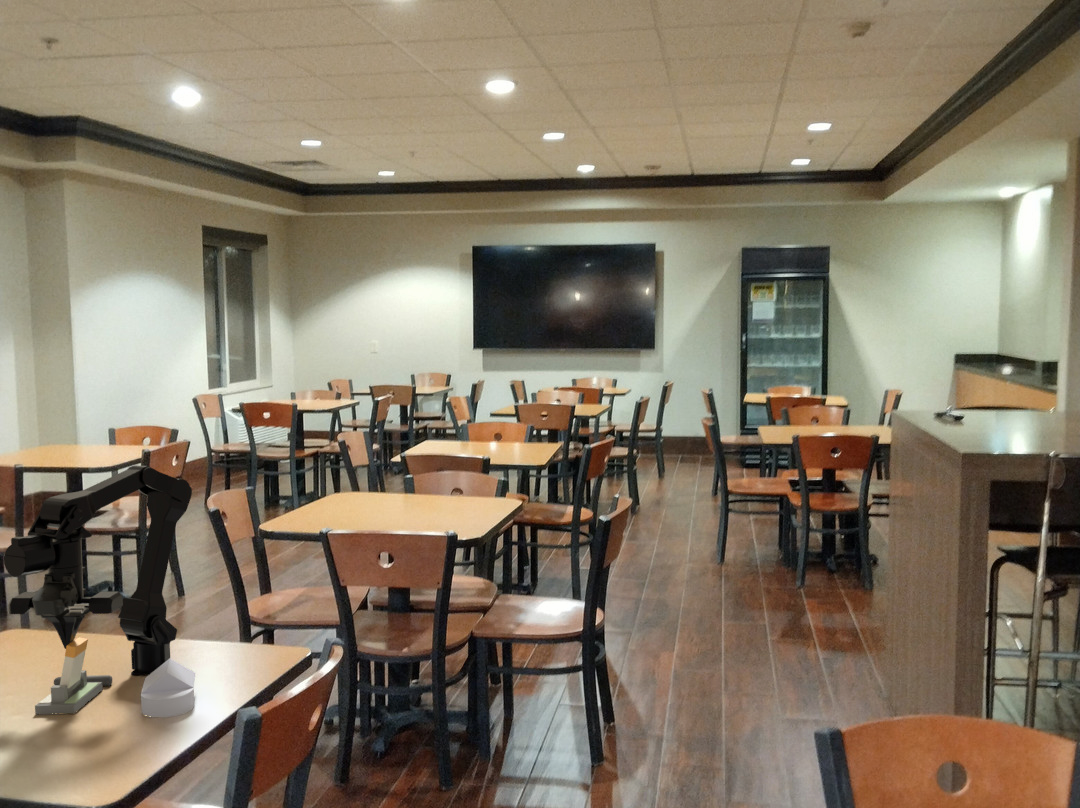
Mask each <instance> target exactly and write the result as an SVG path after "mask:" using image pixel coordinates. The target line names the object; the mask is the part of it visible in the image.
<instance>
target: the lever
mask: <svg viewBox="0 0 1080 808" xmlns="http://www.w3.org/2000/svg"><path fill="white" fill-rule="evenodd" d="M88 642H89V639H88V638H85V637H79V636H78V637H77V638H75V639H74V641H73V642H71V643H70V644H68V645H67V646H66V649H65V653H64V659H63V660H64V661H63V665H62V666H63V667H62V671H61V676H60V677H61V681H60V685H67V693H68V694H69V693H70V692H71V691H73V690H74V689H75V688H76V687H78V686H79V685H80V684H81V672H82V670H83V665H84V660H85V655H86V650H87V646H88Z"/></svg>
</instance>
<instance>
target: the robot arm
mask: <svg viewBox="0 0 1080 808" xmlns="http://www.w3.org/2000/svg"><path fill="white" fill-rule="evenodd" d="M190 485H191V484H190V483H189V482H188V481H187V480H186V479H184V478H176V477H174V476H171V475H168V474H167V473H163V472H160V471H158V470H157V469H155V468H153V467H152V466H148V465H138V464H137V465H131V466H129V467H128V468H127V469H125V470H124V471H121V472H119V473H117V474H115V475H113V476H111V477H109V478H107V479H104V480H102V481H100V482H97V483H96V484H94V485H92V486H90V487H88V488H85V489H83V490H79V491H75V492H68V493H67V492H66V493H62V494H58V495H54V496H50V497H48V498H46V499H45V500H44V501H43V502H42V504H41V505H42V506H41V508H40V511H39V513H38V514H37V516H36V517H35V520H34V522H33V523H32V525H31V527H30V528H29V530H28V532H27V535H26V536H14V537H12V538H11V539H10V545H9V546H8V547H7V548H6V550H5V553H4V555H3V564H4V567H5V570H6V571H7V573H8V574H9V575H10V576H11V577H15V578H18V577H22V576H26V575H30V574H34V573H39V572H44V571H46V570H47V573H45V574H44V579H43V581H44V582H43V585H42V586H41V587H40V588H39V589H38V591H24V592H22V593H20V594H18V595H15V596H14V597H12V598H11V599H10V600H9V601H8V614H10V615H26V614H27V613H28V612H29V611H30V610H31V609H34V614H35V615H36V616H40V617H41V619H46V620H47V621H49V622H50V623H51V624H52V625H53V626H54V629H55V630H56V632H57V635H58V637H59V638H60V641H61V643H62V645H63V648H64V649H65V650H66V646H67V645H68V644H70V643H71V642H73V641H74V640H76V636H77V633H78V630H79V628H80V626H81V623H83V620H84V619H85V616H86V615H87V614H88V613H90V612H91V613H92V614H94V615H95V614H96V615H97V614H98V615H99V614H101V615H104V614H105V615H106V614H107V615H108V614H112V613H114V612H115V611H117V610H118V609H120V608H121V609H120V612H119V614H118V616H117V618H118V619H119V628H120V629H121V630H122V631H123V633H124V634H125V637H126V639H127V642H131V641H132V645H133V647H132V649H131V650H130V653H131V654H130V659H131V660H130V661H131V670H132V671H131V672H130V675H131V676H148V675H150V674H151V673H152V672H153V671H155V670H156V669H157V668H158V667H160V666H161V665H162V664H163V663H165V662H166V661H167V660H168V659H169V658H170V659H171V642H173V641H175V640H176V638H177V634H178V629H177V628H176V627H175V626H174V625H173V624H172V623H170V622H169V621H168V620H167V604H166V601H165V598H164V595H163V591H164V586H165V580H166V576H167V571H168V565H169V562H170V561H169V560H170V555H171V552H172V551H171V550H172V547H173V541H174V536H175V532H176V526H177V523H178V522H179V521H180V519H181V518H183V515H184V514H185V513H186V511H187V510H188V507H189V504H190V502H191V499H192V494H193V493H192V492H193V489H192V487H191V486H190ZM137 491H138V492H139V493H141V494H143V495H145V496H146V509H147V511H148V514H149V517H150V523H149V529H148V532H147V539H146V542H145V546H144V553H143V556H142V561H141V567H140V570H139V576H138V581H137V584H136V588H135V589H136V590H135V591H134V592H133V593H132V595H130V597H123V596H122V595H123V594H122V593H121V592H120V591H100V592H98V593H96V594H95V595H92V596H85V595H87V588H84V580H83V579H84V577H83V575H84V574H85V573H86V572H87V571H86V566H83V550H82V548H83V547H82V545H83V544H82V543H83V542H82V540H83V539H87V538H91V537H92V536H93V534H92V532H90V531H88V530H87V529H86V528H85V527H84V525H85V524H87V523H88V522H89V521H91V520H92V519H93V518H94V516H95V514H96V513H97V512H98V511H100V509H104V508H105V507H107V506H108V505H110V504H112V503H114V502H117V501H118V500H120V499H123V498H124V497H126V496H129V495H131V494H133V493H135V492H137Z"/></svg>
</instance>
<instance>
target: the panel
mask: <svg viewBox="0 0 1080 808" xmlns="http://www.w3.org/2000/svg"><path fill="white" fill-rule="evenodd" d="M87 673H88V672H87V670H86V669H85V670H83V669H82V672H81V684H80V685H79V686H78V687H76V688H75V689H74V690H73V691H71V692H70V693H69V694H68V693H67V685H54V684H53V685H52V686H51V687H50V693H49V694H48V695H46V697H44V698H43V699H42V700H40V701H39V702H38V703H36V704H35V705H34V711H35V712H34V713H35V714H39V715H60V714H59V713H75V712H76V711H77V712H79V711H80V710H81V709H82V708H83V707H85V706H86V705H87V704H88V703H89V702H91V701H92V700H93V699H94V698H95V697H97V696H98V695H99V694H100V693H101V692H102V691H103V690H104V689H103V687H104V686H102V682H87V676H88V674H87ZM100 691H101V692H100ZM99 692H100V693H99ZM98 693H99V694H98ZM93 697H94V698H93ZM92 698H93V699H92ZM91 699H92V700H91ZM88 701H89V702H88ZM87 702H88V703H87ZM86 703H87V704H86ZM85 704H86V705H85ZM81 707H82V708H81ZM80 708H81V709H80ZM79 709H80V710H79ZM78 710H79V711H78ZM77 712H76V713H77ZM52 713H53V714H52ZM55 713H57V714H55ZM76 713H75V714H76Z"/></svg>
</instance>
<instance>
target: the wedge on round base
mask: <svg viewBox="0 0 1080 808" xmlns="http://www.w3.org/2000/svg"><path fill="white" fill-rule="evenodd" d="M195 681H196V672H195V671H193V670H192V669H190V668H188V667H186V666H184V665H183V664H181V663H179V662H178V661H176V660H174V659H172V658H171V657H170V658H169V659H168V660H167V661H166V662H165V663H163V664H162V665H161V666H160V667H158V668H157V669H156V670H155V671H153V672H152V673H151V674H150V675H146V677H144V681H143V685H142V688H141V693H140V701H141V702H140V704H141V714H142V713H143V714H144V715H147V716H151V717H166V718H172V716H173V717H177V716H181V715H184V714H186V713H188V712H190V711H191V710H193V709H194V708H195V692H194V691H195V690H194V689H195V688H194V687H195ZM143 714H142V715H143ZM144 715H143V716H144ZM151 717H150V718H151Z"/></svg>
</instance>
